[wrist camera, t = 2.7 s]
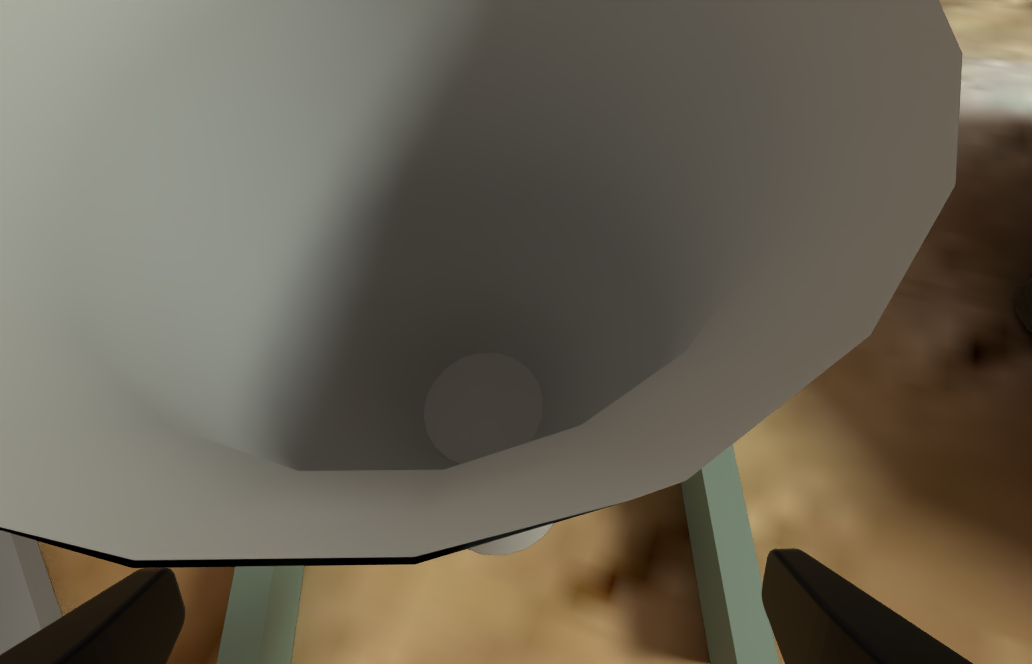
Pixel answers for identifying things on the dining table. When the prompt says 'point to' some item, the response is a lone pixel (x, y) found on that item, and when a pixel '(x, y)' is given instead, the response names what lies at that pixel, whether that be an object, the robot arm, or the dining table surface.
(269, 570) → the u-shaped frame
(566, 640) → the dining table surface
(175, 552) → the chalice
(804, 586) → the robot arm
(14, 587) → the rubber mat
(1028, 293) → the stone bowl
